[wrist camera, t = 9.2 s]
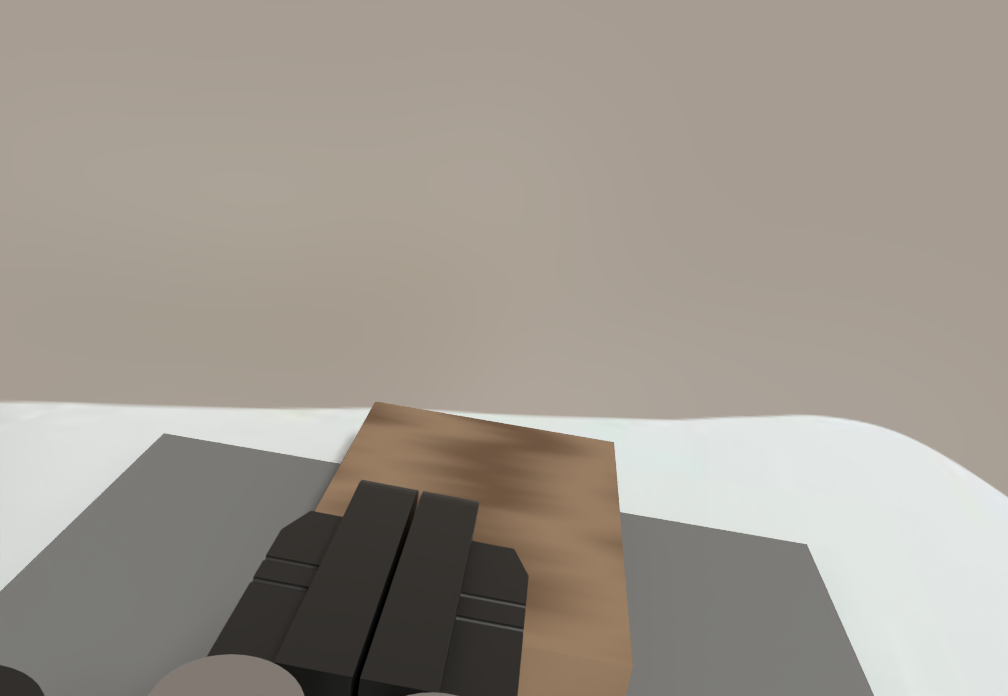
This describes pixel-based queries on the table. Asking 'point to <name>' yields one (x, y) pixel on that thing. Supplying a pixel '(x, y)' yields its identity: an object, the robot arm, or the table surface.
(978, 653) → the table surface
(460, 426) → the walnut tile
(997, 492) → the table surface
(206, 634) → the charcoal mat
